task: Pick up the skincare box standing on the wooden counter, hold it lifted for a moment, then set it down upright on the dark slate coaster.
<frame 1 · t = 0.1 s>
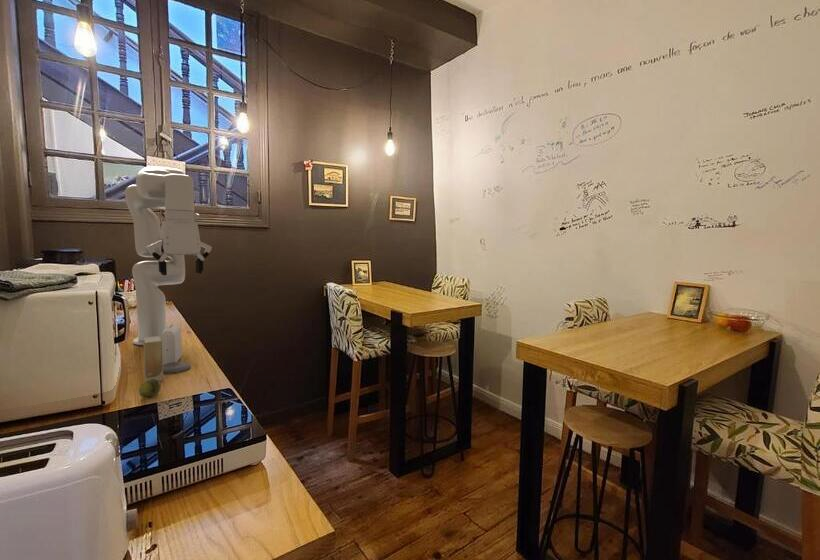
hand: (181, 274, 122), 31 cm above the worktop, tool pointing down, fingers open, 9 cm apart
lime: (151, 397, 107), on the worktop
photo printer: (172, 361, 136), on the worktop
coaster: (174, 368, 128), on the worktop
skincare box: (153, 379, 120), on the worktop
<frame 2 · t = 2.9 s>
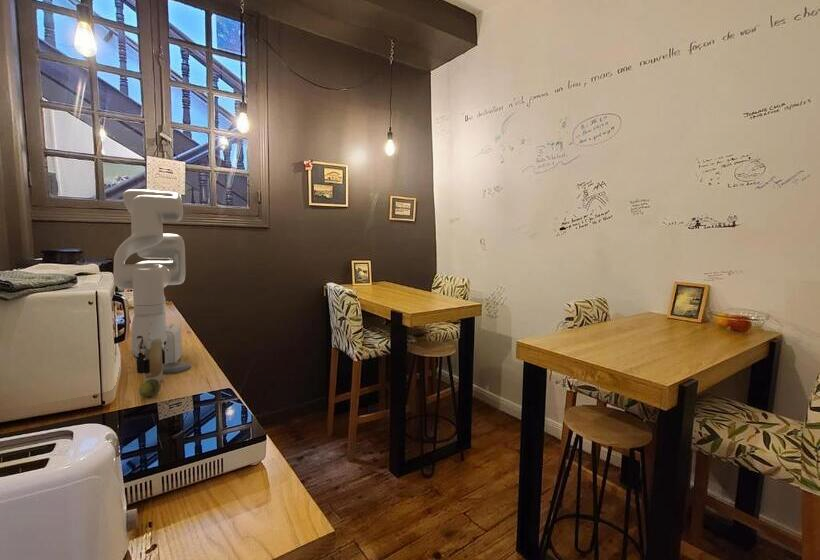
hand: (151, 367, 119), 3 cm above the worktop, tool pointing down, fingers closed on skincare box, 7 cm apart
skincare box: (153, 379, 119), on the worktop, touching gripper
everything else where it was.
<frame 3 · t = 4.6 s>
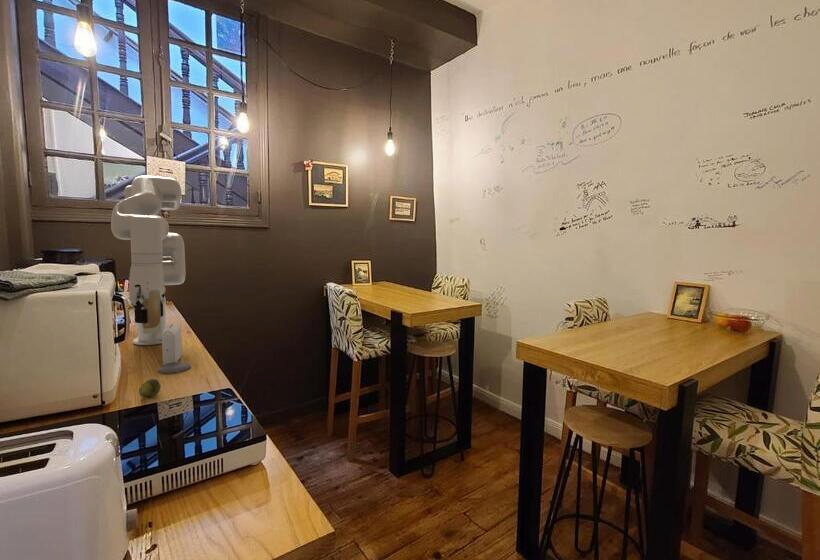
hand: (149, 319, 118), 18 cm above the worktop, tool pointing down, fingers closed on skincare box, 7 cm apart
skincare box: (151, 331, 118), point 14 cm above the worktop, touching gripper
everything else where it was.
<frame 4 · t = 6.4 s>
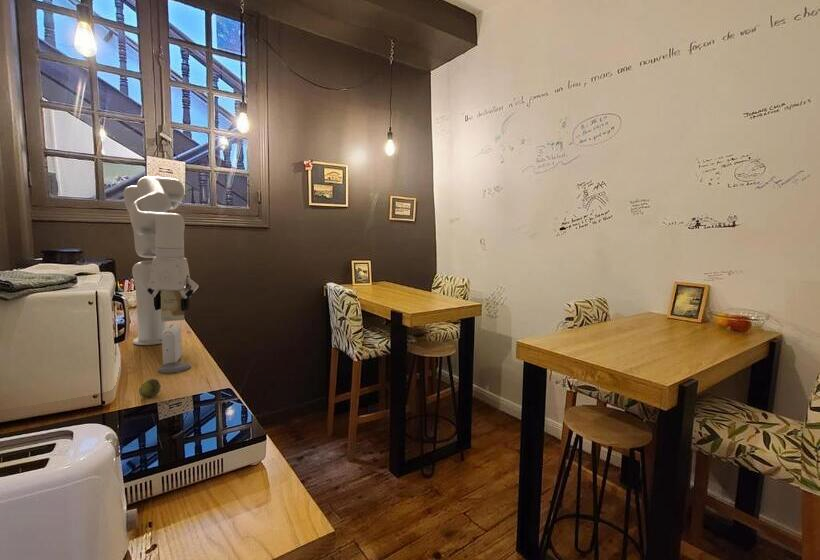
hand: (171, 309, 126), 19 cm above the worktop, tool pointing down, fingers closed on skincare box, 7 cm apart
skincare box: (173, 320, 127), point 16 cm above the worktop, touching gripper
everything else where it was.
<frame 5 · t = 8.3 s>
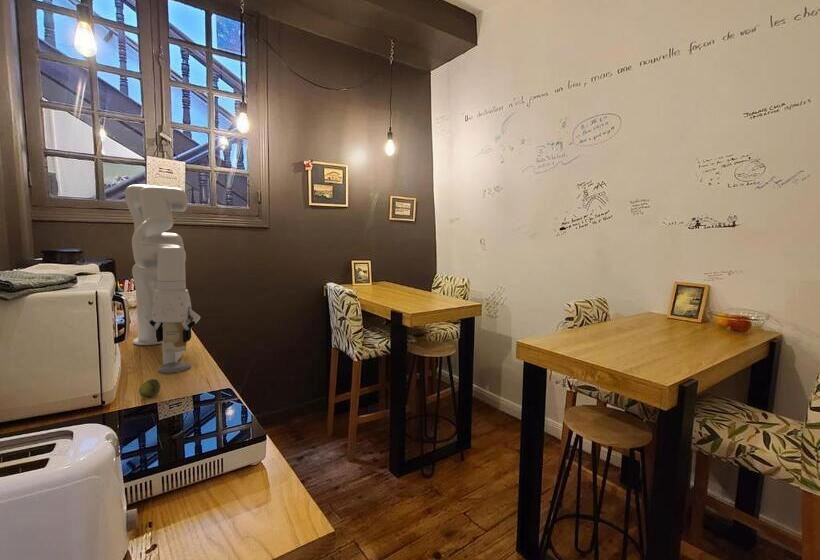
hand: (173, 340, 127), 9 cm above the worktop, tool pointing down, fingers closed on skincare box, 7 cm apart
skincare box: (175, 351, 128), point 6 cm above the worktop, touching gripper
everything else where it was.
when the fingers open (5 cm above the worktop, at t = 9.7 s): skincare box drops 1 cm, resting on coaster.
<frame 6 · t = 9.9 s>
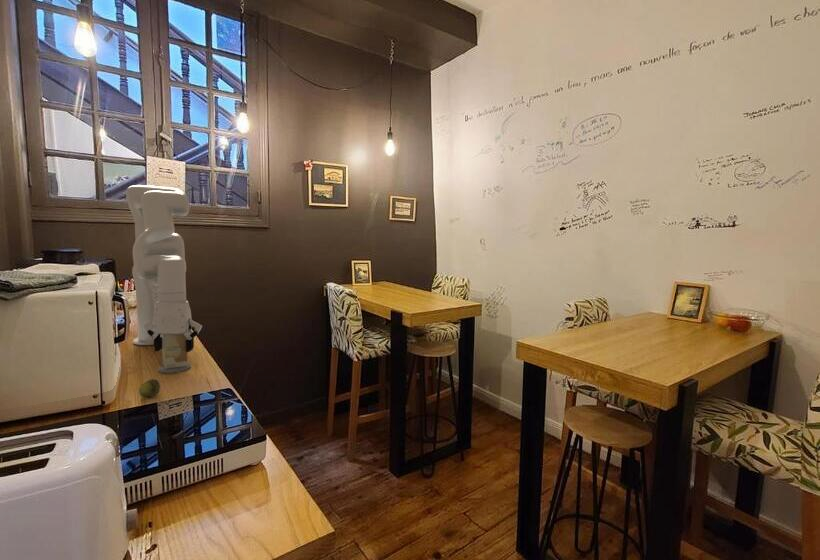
hand: (174, 350, 128), 6 cm above the worktop, tool pointing down, fingers open, 9 cm apart
skincare box: (176, 366, 129), point 1 cm above the worktop, touching coaster
everything else where it was.
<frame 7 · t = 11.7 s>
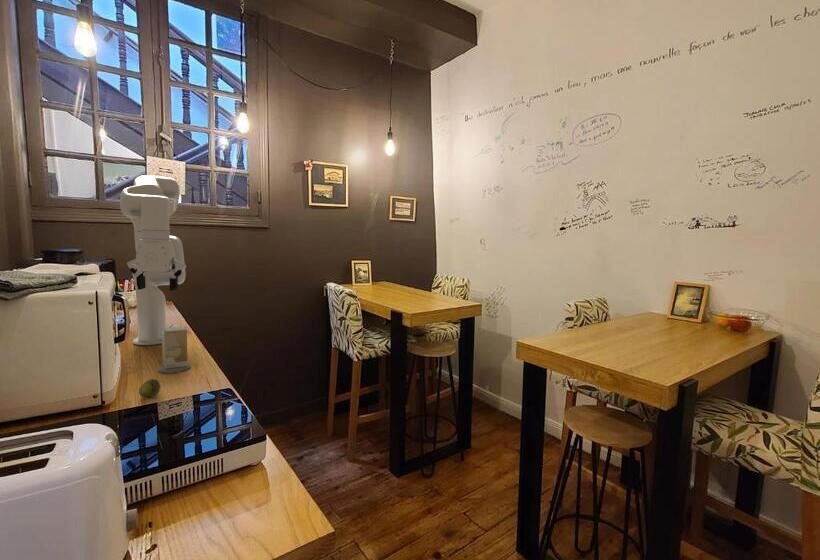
hand: (157, 289, 128), 25 cm above the worktop, tool pointing down, fingers open, 9 cm apart
nothing on the worktop moved.
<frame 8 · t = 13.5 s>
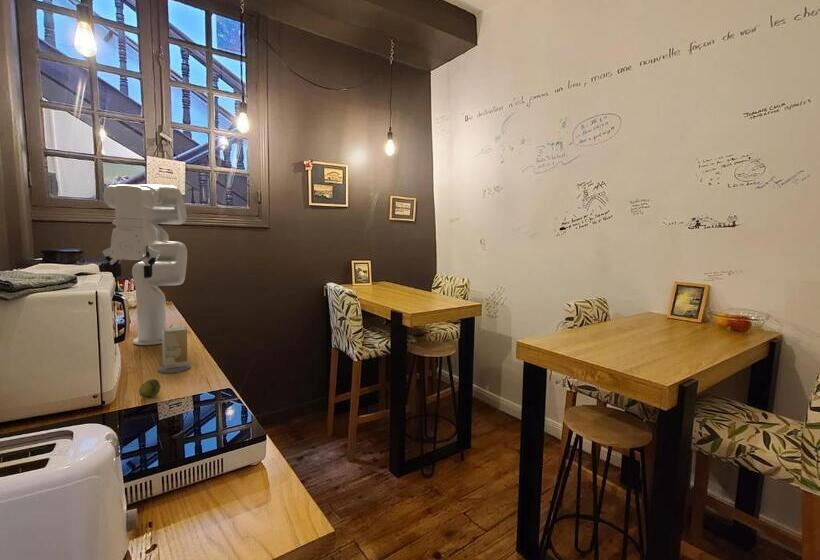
hand: (132, 277, 131), 28 cm above the worktop, tool pointing down, fingers open, 9 cm apart
nothing on the worktop moved.
at the end: skincare box inside the target area on the coaster (0.6 cm from its centre), point 0.6 cm above the coaster's base; skincare box tilted 0°; the gripper is holding nothing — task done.
